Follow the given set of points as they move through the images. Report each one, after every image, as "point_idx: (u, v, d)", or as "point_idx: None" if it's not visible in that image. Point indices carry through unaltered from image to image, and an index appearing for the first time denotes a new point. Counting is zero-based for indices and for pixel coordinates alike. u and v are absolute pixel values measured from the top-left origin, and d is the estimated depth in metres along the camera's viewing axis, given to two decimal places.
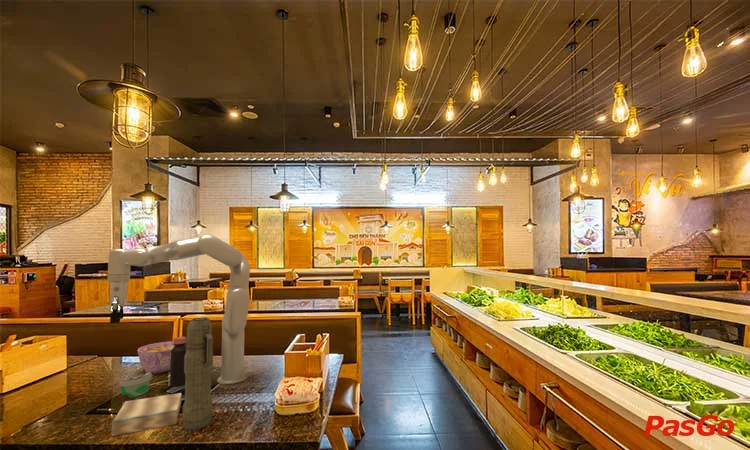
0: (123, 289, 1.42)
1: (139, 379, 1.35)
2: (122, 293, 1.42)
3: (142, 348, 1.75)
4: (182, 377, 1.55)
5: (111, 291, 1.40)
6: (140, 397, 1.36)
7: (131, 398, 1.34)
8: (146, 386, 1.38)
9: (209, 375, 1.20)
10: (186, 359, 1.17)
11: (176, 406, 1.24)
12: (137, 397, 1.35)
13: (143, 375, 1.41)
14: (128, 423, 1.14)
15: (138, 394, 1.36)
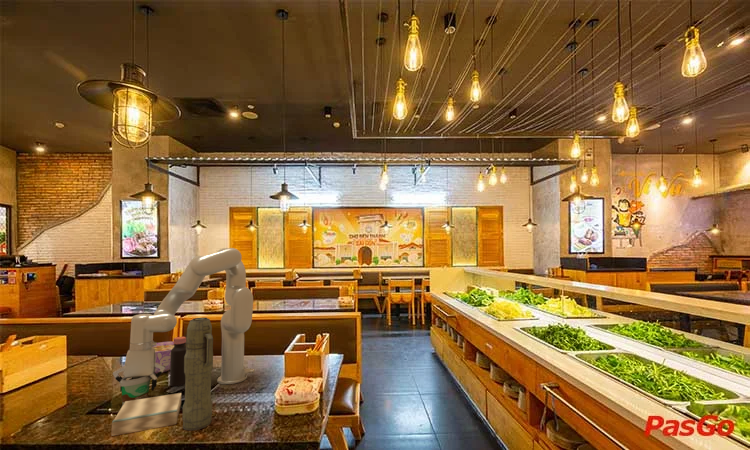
0: None
1: (139, 379, 1.36)
2: None
3: None
4: (182, 377, 1.55)
5: (153, 358, 1.39)
6: (140, 397, 1.36)
7: (131, 398, 1.34)
8: (146, 386, 1.38)
9: (209, 375, 1.20)
10: (186, 359, 1.17)
11: (176, 406, 1.24)
12: (137, 397, 1.35)
13: None
14: (128, 423, 1.14)
15: (138, 394, 1.36)
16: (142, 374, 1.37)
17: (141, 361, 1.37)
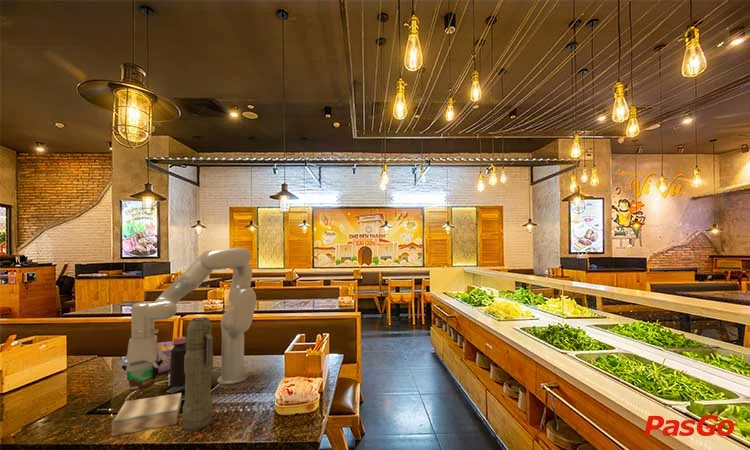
0: None
1: (144, 363, 1.37)
2: None
3: None
4: (182, 377, 1.55)
5: (155, 345, 1.40)
6: (147, 381, 1.38)
7: (138, 382, 1.36)
8: (152, 370, 1.40)
9: (209, 375, 1.20)
10: (186, 359, 1.17)
11: (176, 406, 1.24)
12: (144, 381, 1.37)
13: None
14: (128, 423, 1.14)
15: (145, 378, 1.37)
16: (145, 361, 1.38)
17: (144, 348, 1.38)
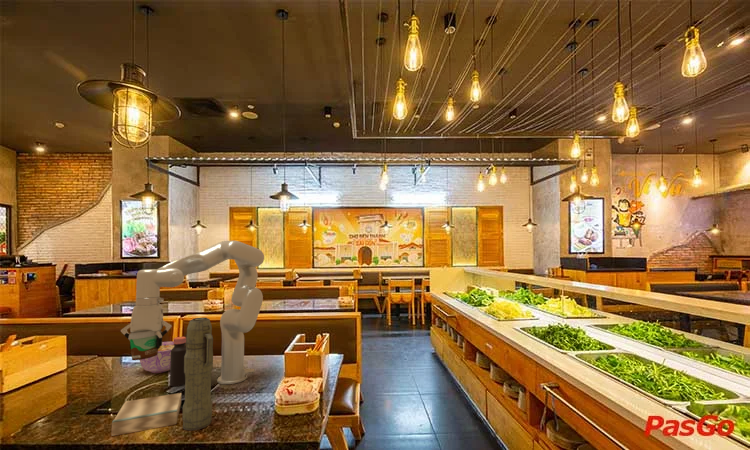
0: None
1: (148, 332, 1.31)
2: None
3: None
4: (182, 377, 1.55)
5: (160, 314, 1.34)
6: (150, 351, 1.32)
7: (141, 351, 1.30)
8: (155, 340, 1.34)
9: (209, 375, 1.20)
10: (186, 359, 1.17)
11: (176, 406, 1.24)
12: (147, 350, 1.31)
13: None
14: (128, 423, 1.14)
15: (148, 348, 1.31)
16: (149, 330, 1.32)
17: (148, 316, 1.32)
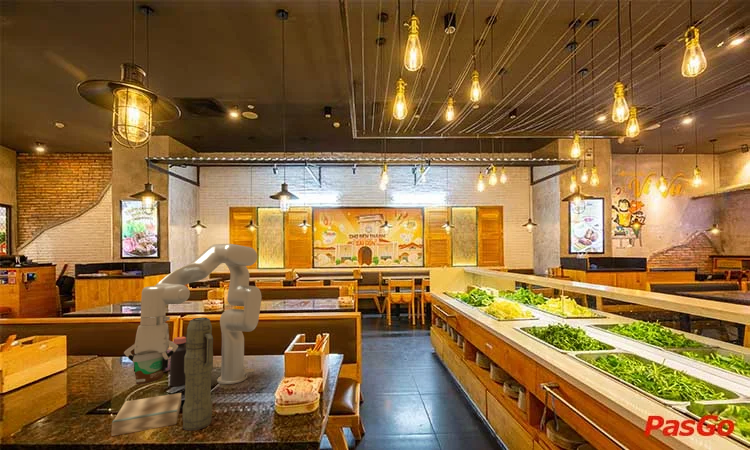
0: None
1: (154, 354, 1.23)
2: None
3: None
4: (182, 377, 1.55)
5: (166, 334, 1.26)
6: (155, 374, 1.24)
7: (146, 375, 1.21)
8: (161, 362, 1.26)
9: (209, 375, 1.20)
10: (186, 359, 1.17)
11: (176, 406, 1.24)
12: (152, 373, 1.23)
13: None
14: (128, 423, 1.14)
15: (153, 370, 1.23)
16: (155, 351, 1.24)
17: (154, 337, 1.24)
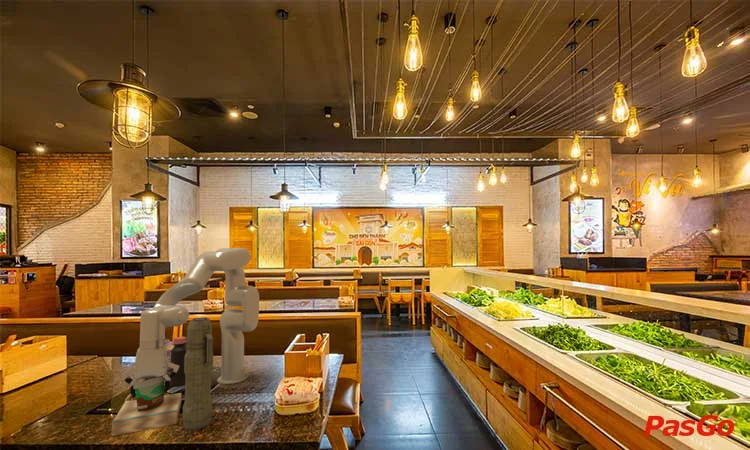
0: None
1: (154, 379, 1.23)
2: None
3: None
4: (182, 377, 1.55)
5: (165, 357, 1.26)
6: (157, 399, 1.23)
7: (147, 401, 1.21)
8: (161, 386, 1.25)
9: (209, 375, 1.20)
10: (186, 359, 1.17)
11: (176, 406, 1.24)
12: (154, 399, 1.22)
13: None
14: (128, 423, 1.14)
15: (155, 396, 1.23)
16: (154, 375, 1.23)
17: (153, 360, 1.24)
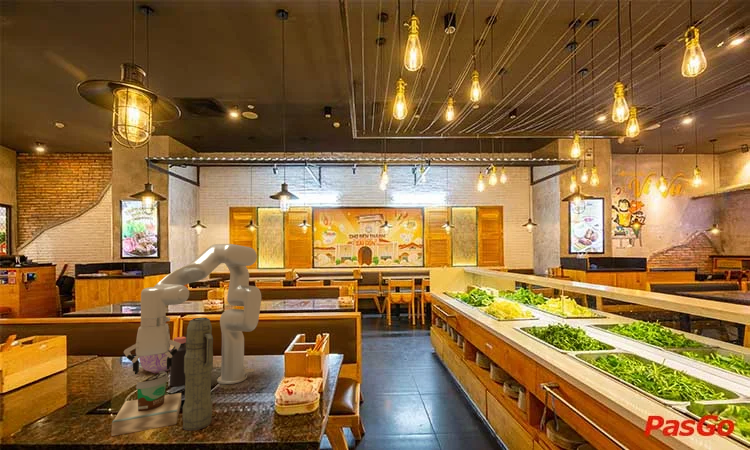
0: None
1: (157, 380, 1.23)
2: None
3: None
4: (182, 377, 1.55)
5: (167, 334, 1.26)
6: (158, 400, 1.23)
7: (148, 401, 1.21)
8: (163, 388, 1.25)
9: (209, 375, 1.20)
10: (186, 359, 1.17)
11: (176, 406, 1.24)
12: (155, 400, 1.22)
13: (158, 376, 1.28)
14: (128, 423, 1.14)
15: (156, 397, 1.23)
16: (156, 352, 1.24)
17: (154, 338, 1.24)
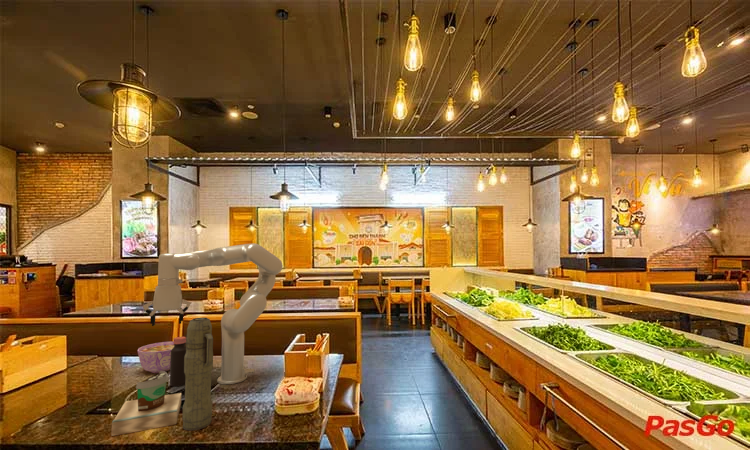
0: None
1: (157, 380, 1.23)
2: None
3: (142, 348, 1.75)
4: (182, 377, 1.55)
5: (179, 293, 1.48)
6: (158, 400, 1.23)
7: (148, 401, 1.21)
8: (163, 388, 1.25)
9: (209, 375, 1.20)
10: (186, 359, 1.17)
11: (176, 406, 1.24)
12: (155, 400, 1.22)
13: (158, 376, 1.28)
14: (128, 423, 1.14)
15: (156, 397, 1.23)
16: (170, 308, 1.46)
17: (169, 295, 1.46)
